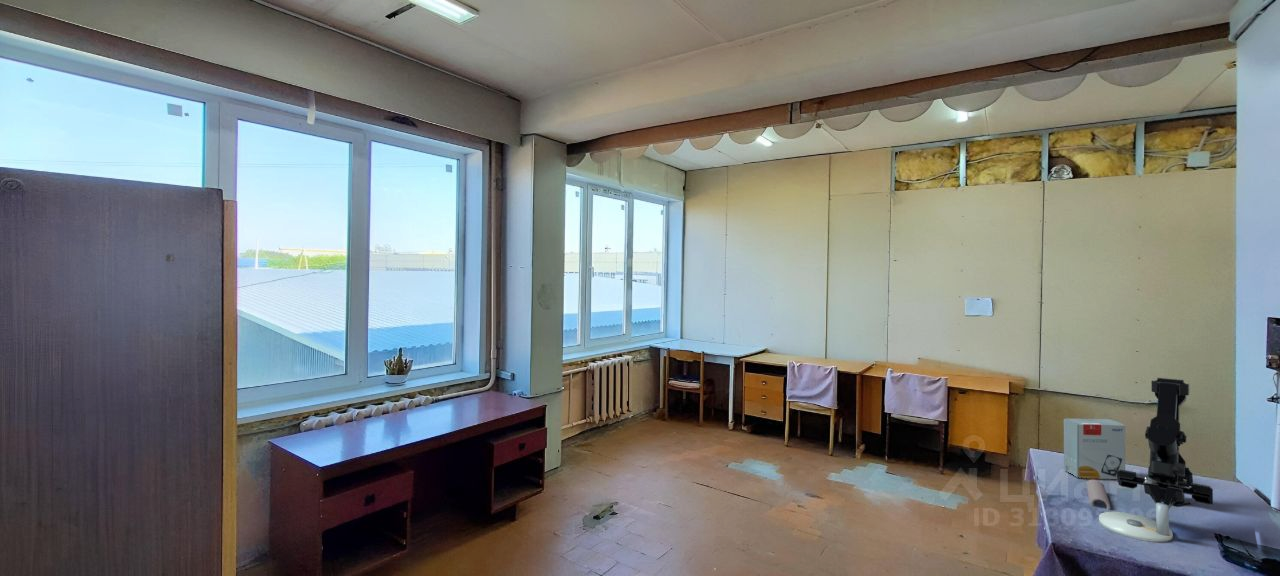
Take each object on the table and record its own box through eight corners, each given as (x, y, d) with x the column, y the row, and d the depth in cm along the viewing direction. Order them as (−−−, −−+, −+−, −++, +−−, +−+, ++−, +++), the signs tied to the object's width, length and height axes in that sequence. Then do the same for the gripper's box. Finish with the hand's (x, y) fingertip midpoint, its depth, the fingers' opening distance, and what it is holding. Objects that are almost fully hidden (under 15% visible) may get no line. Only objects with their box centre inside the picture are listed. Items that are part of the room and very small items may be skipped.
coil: (1084, 478, 172) (1089, 497, 158) (1103, 479, 169) (1109, 499, 155) (1086, 491, 171) (1091, 512, 157) (1105, 493, 169) (1111, 514, 154)
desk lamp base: (1115, 511, 154) (1114, 481, 154) (1183, 533, 140) (1183, 500, 140) (1087, 523, 148) (1087, 491, 148) (1156, 547, 134) (1155, 513, 134)
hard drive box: (1077, 479, 180) (1076, 424, 180) (1063, 470, 188) (1061, 417, 188) (1127, 480, 178) (1125, 424, 177) (1110, 471, 185) (1109, 418, 185)
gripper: (1116, 442, 149) (1113, 490, 142) (1212, 457, 135) (1213, 511, 128) (1120, 461, 155) (1117, 508, 148) (1212, 477, 141) (1213, 531, 134)
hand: (1162, 514), depth 139 cm, fingers closed, pressing on desk lamp base
